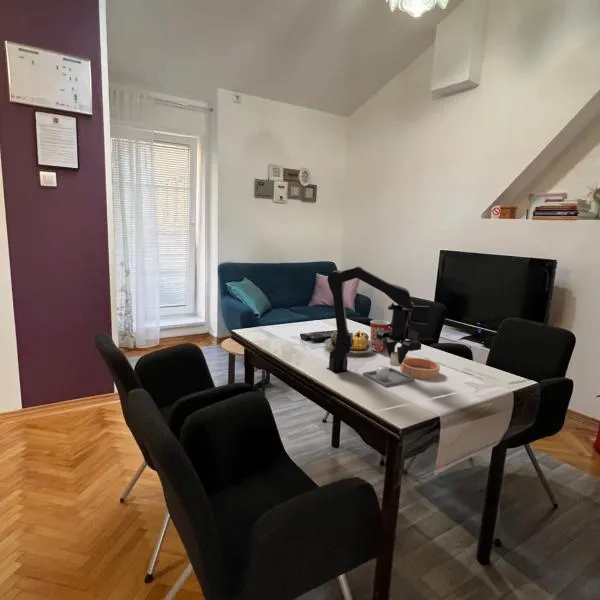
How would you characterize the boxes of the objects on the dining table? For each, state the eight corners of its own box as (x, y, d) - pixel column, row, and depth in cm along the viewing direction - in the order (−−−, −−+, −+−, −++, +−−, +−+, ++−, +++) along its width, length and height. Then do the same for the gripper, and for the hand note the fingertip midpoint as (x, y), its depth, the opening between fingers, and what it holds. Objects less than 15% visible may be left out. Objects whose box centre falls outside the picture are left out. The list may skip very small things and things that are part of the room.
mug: (364, 349, 194) (366, 321, 192) (375, 346, 201) (377, 318, 198) (387, 356, 185) (389, 327, 183) (398, 352, 192) (400, 324, 189)
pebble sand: (395, 367, 156) (396, 355, 155) (387, 363, 159) (388, 352, 158) (404, 365, 158) (405, 354, 157) (396, 362, 161) (397, 351, 161)
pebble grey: (381, 381, 153) (382, 370, 153) (373, 377, 157) (374, 366, 156) (390, 380, 156) (391, 368, 155) (382, 376, 159) (383, 365, 159)
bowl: (419, 382, 156) (420, 372, 155) (393, 369, 168) (393, 360, 168) (446, 376, 163) (447, 367, 162) (419, 365, 175) (420, 356, 175)
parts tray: (384, 388, 149) (385, 384, 149) (362, 376, 160) (362, 372, 160) (414, 382, 156) (414, 378, 156) (391, 371, 167) (391, 367, 167)
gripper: (434, 326, 151) (429, 367, 154) (398, 315, 167) (395, 352, 170) (411, 328, 146) (407, 371, 149) (377, 317, 162) (373, 355, 165)
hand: (396, 361), depth 158 cm, fingers closed on pebble sand, 4 cm apart
